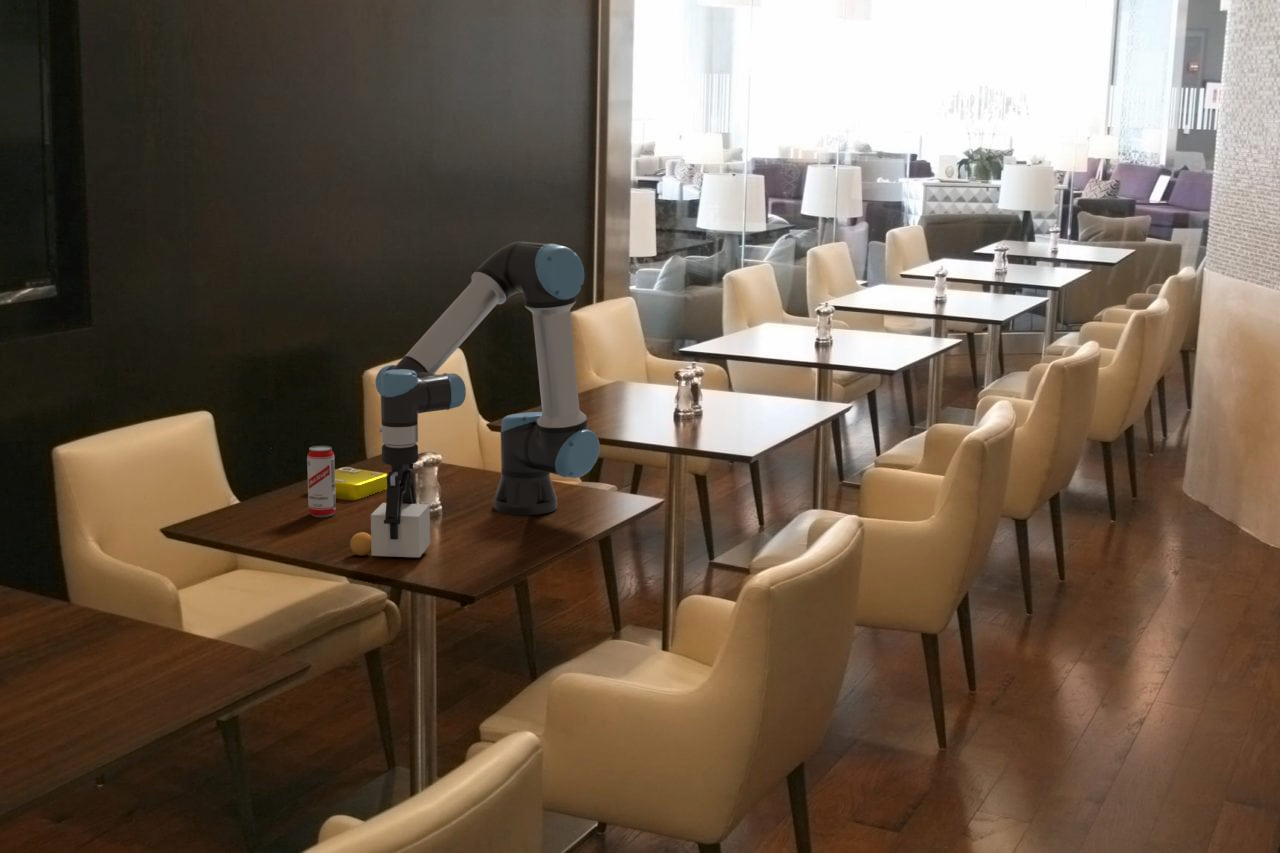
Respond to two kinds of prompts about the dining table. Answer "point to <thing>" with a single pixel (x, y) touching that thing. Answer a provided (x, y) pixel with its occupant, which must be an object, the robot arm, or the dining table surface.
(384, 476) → the element tile
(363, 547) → the ball
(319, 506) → the beer can
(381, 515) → the white cube
